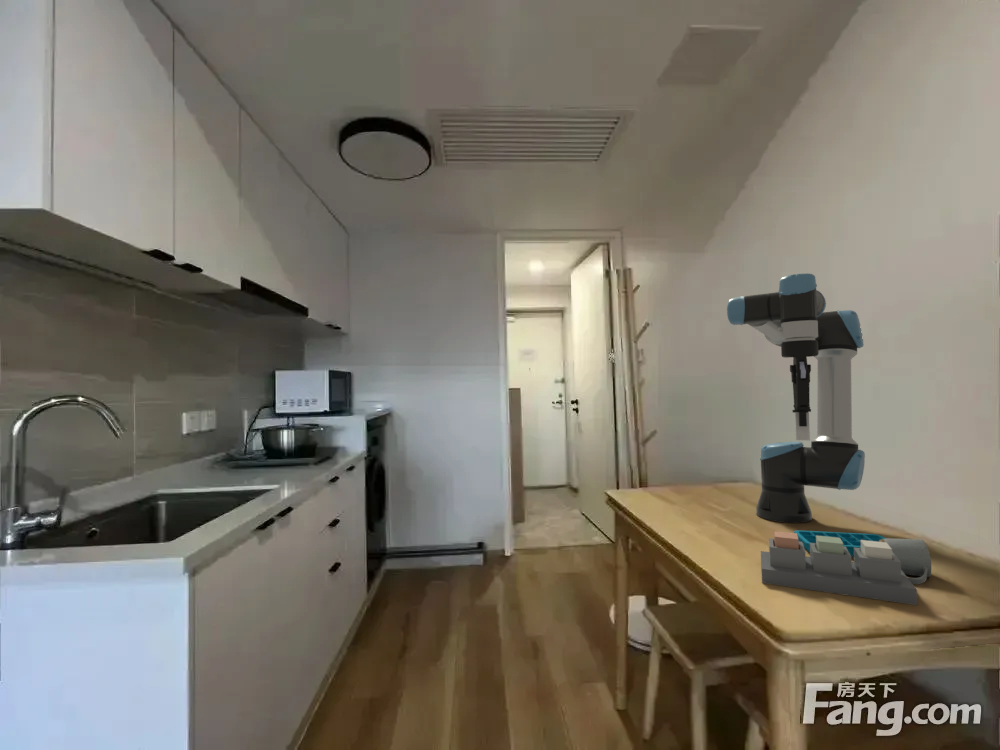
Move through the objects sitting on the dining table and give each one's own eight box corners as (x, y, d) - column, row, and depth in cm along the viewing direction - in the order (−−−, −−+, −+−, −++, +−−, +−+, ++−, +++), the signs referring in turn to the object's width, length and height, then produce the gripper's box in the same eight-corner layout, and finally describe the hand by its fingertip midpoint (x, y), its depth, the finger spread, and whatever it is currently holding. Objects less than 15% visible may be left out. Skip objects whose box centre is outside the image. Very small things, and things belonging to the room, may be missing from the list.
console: (761, 563, 116) (760, 534, 116) (900, 581, 104) (898, 548, 104) (762, 582, 105) (761, 549, 105) (917, 605, 93) (915, 568, 94)
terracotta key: (774, 551, 111) (774, 531, 111) (797, 553, 109) (796, 533, 109) (775, 557, 107) (774, 536, 108) (799, 560, 105) (798, 539, 106)
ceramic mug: (876, 564, 114) (875, 531, 114) (921, 569, 110) (920, 535, 110) (889, 582, 104) (888, 546, 104) (939, 588, 101) (937, 551, 101)
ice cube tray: (792, 541, 132) (792, 530, 132) (880, 545, 127) (879, 534, 127) (807, 556, 121) (807, 544, 121) (904, 562, 116) (903, 549, 116)
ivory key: (861, 561, 104) (860, 539, 104) (887, 564, 102) (886, 542, 102) (865, 568, 100) (864, 546, 100) (892, 571, 98) (891, 549, 98)
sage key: (816, 555, 108) (815, 535, 108) (840, 558, 106) (840, 537, 106) (819, 562, 104) (818, 541, 104) (844, 565, 102) (843, 543, 102)
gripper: (779, 342, 124) (782, 436, 124) (783, 339, 112) (786, 443, 112) (814, 340, 121) (817, 437, 121) (821, 337, 109) (825, 444, 109)
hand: (802, 439), depth 116 cm, fingers closed
